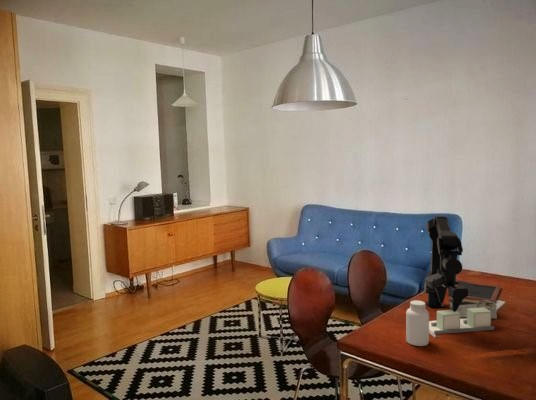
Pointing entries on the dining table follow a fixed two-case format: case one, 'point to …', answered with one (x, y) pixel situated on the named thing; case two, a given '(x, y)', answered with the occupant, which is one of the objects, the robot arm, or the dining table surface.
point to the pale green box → (448, 320)
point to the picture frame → (480, 291)
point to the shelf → (463, 328)
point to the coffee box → (475, 306)
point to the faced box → (478, 317)
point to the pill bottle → (417, 324)
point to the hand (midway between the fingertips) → (447, 307)
